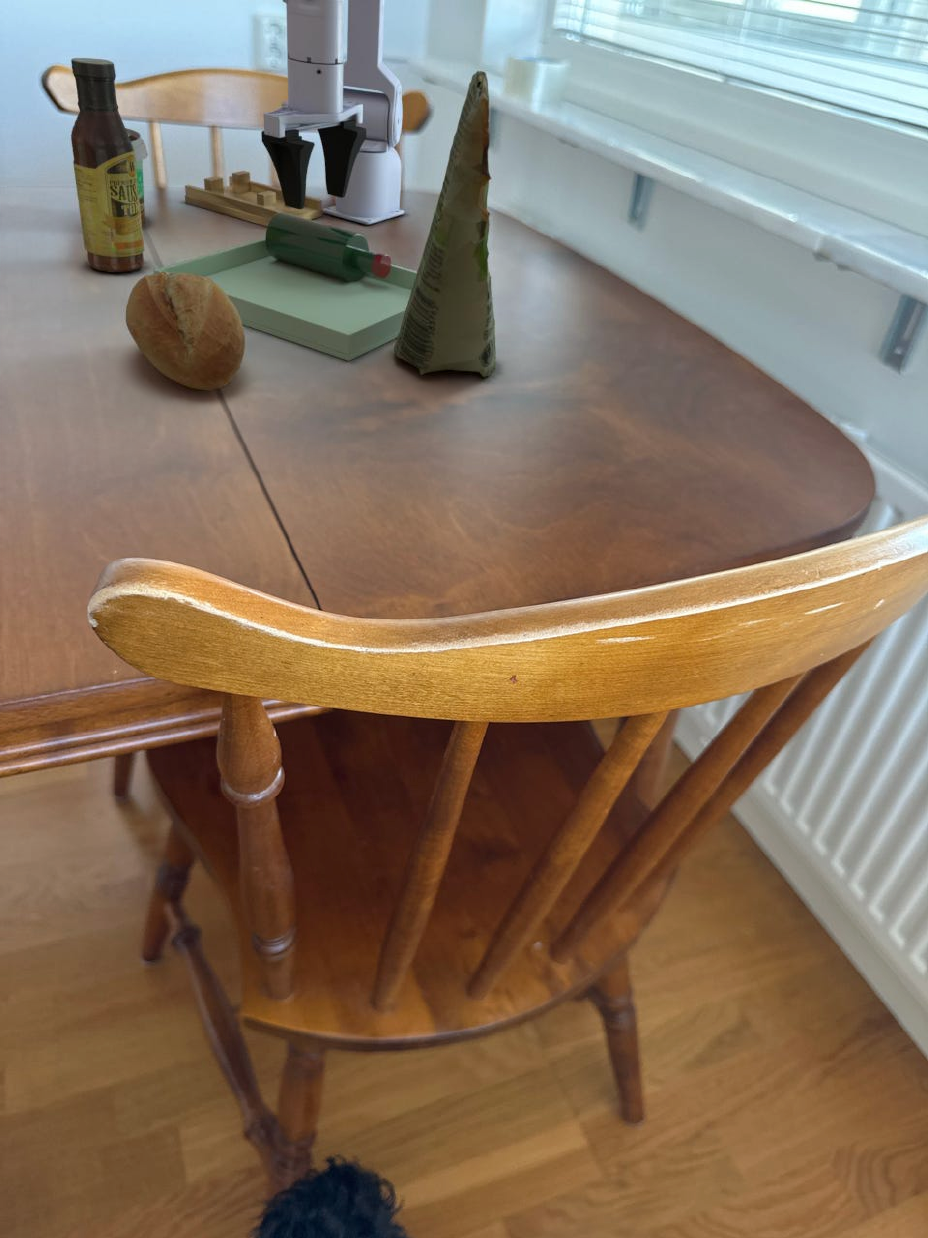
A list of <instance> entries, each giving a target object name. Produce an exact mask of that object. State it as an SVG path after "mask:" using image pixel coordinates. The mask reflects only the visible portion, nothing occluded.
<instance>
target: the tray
mask: <svg viewBox="0 0 928 1238" xmlns="http://www.w3.org/2000/svg"><path fill="white" fill-rule="evenodd" d="M163 271H164V272H166V274H167V275H169V274H170V273H188V274H194V275H198V276H202V277H207V278H210V279H211V280H212V281H213V282H215V283H216V284H217V285H218V286H219V287H220V288H221V289H222V290H223V291H224V292H225V293H226V294H227V296H228V297H229V299H230V300H231V302H232V303H233V305H234V306H235V308H236V309H237V311H238V314H239V316H240V319H241V321H242V325H243V326H246V327H249V328H252V329H255V330H258V331H261V332H263V333H265V334H269V335H272V336H275V337H278V338H281V339H284V340H286V341H290V342H292V343H294V344H298V345H301V346H304V347H307V348H310V349H312V350H315V351H318V352H322V353H324V354H327V355H330V356H333V357H336V358H338V359H341V360H344V361H347V362H349V361H352V360H354V359H355V358H358V357H360V356H362V355H364V354H366V353H368V352H370V351H372V350H374V349H376V348H379V347H381V346H383V345H385V344H387V343H389V342H391V341H393V340H396V339H397V338H398V334H399V332H400V329H401V325H402V321H403V317H404V313H405V310H406V307H407V304H408V301H409V297H410V294H411V291H412V288H413V284H414V281H415V278H416V275H417V271H418V270H417V271H416V270H414V269H410V268H406V267H404V266H400V265H396V264H392V263H391V270H390V273H389V275H388V276H387V277H386V278H385V279H381V278H378V277H375V276H374V275H373V274H371V273H367V272H364V273H363V275H362V276H361V277H360V279H358V280H357V281H355V282H349V281H346V280H343V279H340V278H336V277H333V276H330V275H327V274H323V273H320V272H317V271H313V270H310V269H307V268H304V267H300V266H297V265H294V264H291V263H287V262H284V261H281V260H278V259H275V258H273V257H272V256H271V255H270V254H269V252H268V250H267V247H266V241H265V237H264V238H263V237H262V238H260V239H256V240H253V241H249V242H245V243H242V244H238V245H236V246H232V247H227V248H225V249H221V250H217V251H214V252H210V253H207V254H204V255H201V256H197V257H194V258H189V259H186V260H182V261H180V262H176V263H172V264H169V265H166V266H162V267H158V268H155V269H153V271H152V272H153V275H154V274H157V273H160V272H163Z"/></svg>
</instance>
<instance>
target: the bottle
mask: <svg viewBox="0 0 928 1238" xmlns="http://www.w3.org/2000/svg"><path fill="white" fill-rule="evenodd" d="M264 238H265V241H266V247H267V250H268V252H269V254H270V255H271V256H272V257H273V258H275V259H278V260H281V261H284V262H287V263H291V264H294V265H297V266H300V267H304V268H307V269H310V270H313V271H317V272H320V273H323V274H327V275H330V276H333V277H336V278H340V279H343V280H346V281H349V282H355V281H357V280H358V279H360V277H361V276H362V275H363V273H364V272H367V273H371V274H373V275H374V276H375V277H378V278H381V279H385V278H386V277H387V276H388V275H389V273H390V270H391V264H392V258H391V256H390V255H389V254H386V253H383V252H378V253H376V252H372V251H370V248H369V247H370V246H369V243H368V240H367V238H366V237H365V236H364V234H363V235H362V234H361V233H357V232H354V231H350V230H347V229H343V228H340V227H337V226H333V225H329V224H327V223H322V222H318V221H315V220H313V219H311V220H309V219H305V218H302V217H298V216H294V215H291V214H287V213H284V212H280V213H277V214H276V215H274V216H273V217H272V219H271V220H270V222H269V224H268V226H266V230H265V237H264Z"/></svg>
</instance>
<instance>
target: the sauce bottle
mask: <svg viewBox="0 0 928 1238" xmlns="http://www.w3.org/2000/svg"><path fill="white" fill-rule="evenodd" d="M70 63H71V70H72V74H73V77H74V79H75V88H76V94H77V106H78V109H79V113H78V115H77V117H76V119H75V121H74V125H73V127H72V130H71V134H70V141H71V142H70V143H71V148H72V155H73V162H72V165H73V170H74V171H73V172H74V179H75V185H76V193H77V202H78V209H79V215H80V223H81V230H82V237H83V245H84V249H85V251H86V253H87V255H86V256H87V257H86V258H87V261H88V264H89V266H90V267H92V268H93V269H95V270H98V271H101V272H103V271H104V272H106V273H107V272H109V273H124V272H133V271H136V270H139V269H141V268H142V267H143V266H144V261H145V260H144V259H145V258H144V253H145V242H144V241H145V240H144V232H143V227H142V221H141V211H140V201H139V191H138V181H137V171H136V160H135V151H134V149H133V146H132V144H131V141H130V139H129V136H128V134H127V131H126V129H125V128H126V127H125V125H124V122H123V120H122V117H121V114H120V113H119V106H118V103H117V94H116V93H117V92H116V85H115V81H116V77H117V74H116V68H115V67H116V66H115V64H114V62H113V61H111V60H109V59H103V58H91V57H90V58H89V57H74V58H71V60H70Z"/></svg>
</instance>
